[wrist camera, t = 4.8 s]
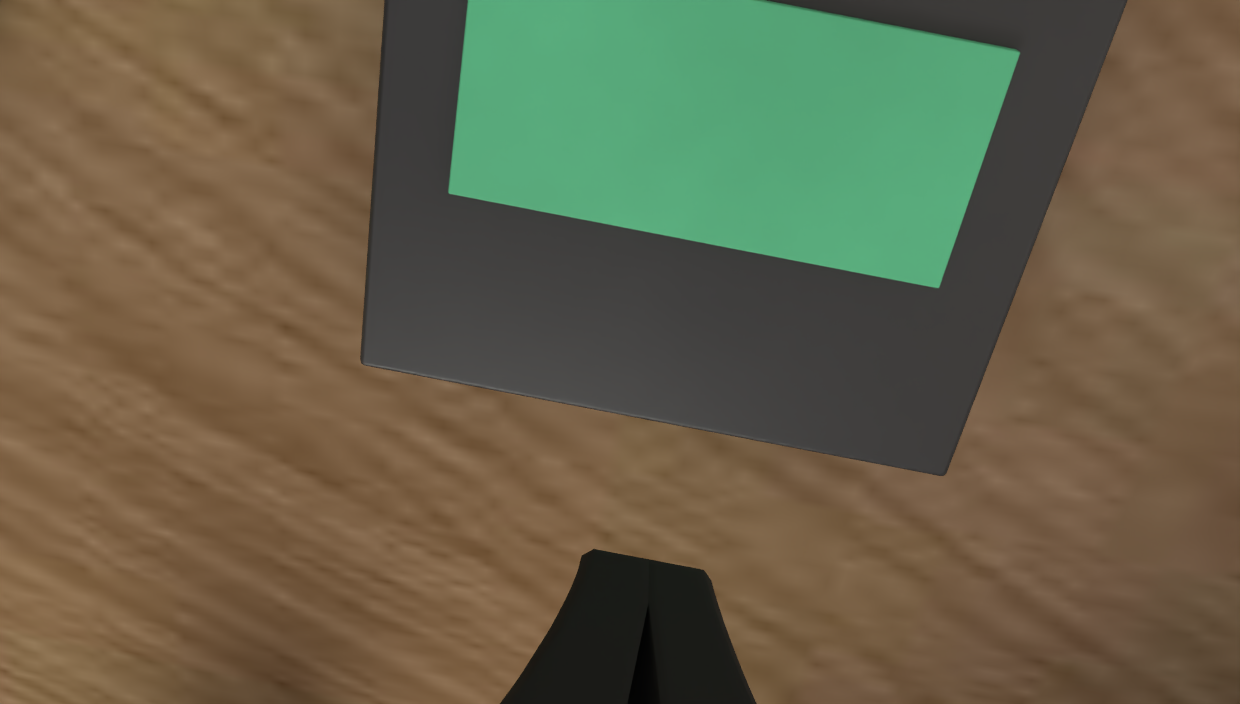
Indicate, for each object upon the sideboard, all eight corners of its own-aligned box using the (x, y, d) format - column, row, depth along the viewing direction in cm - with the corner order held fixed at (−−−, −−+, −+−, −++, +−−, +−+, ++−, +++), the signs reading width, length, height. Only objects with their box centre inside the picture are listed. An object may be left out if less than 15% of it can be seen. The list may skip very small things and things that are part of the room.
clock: (948, 485, 15) (1170, -89, 12) (354, 370, 15) (395, -241, 12) (916, 399, 18) (1092, -100, 14) (402, 300, 18) (448, -227, 14)
